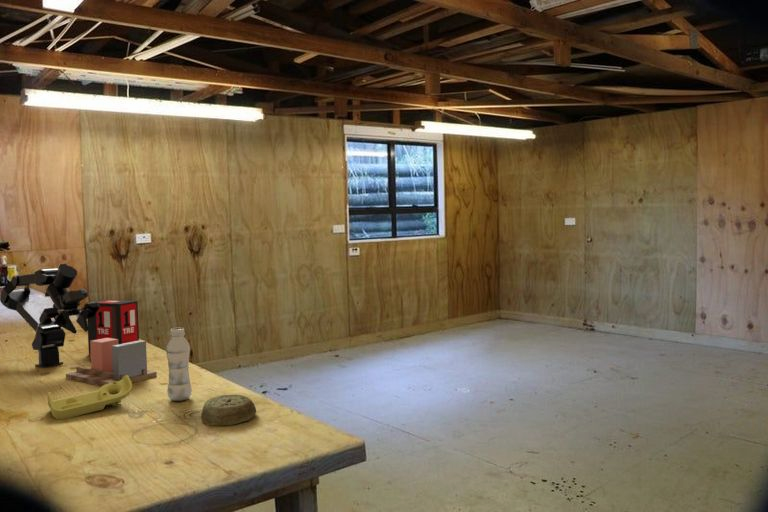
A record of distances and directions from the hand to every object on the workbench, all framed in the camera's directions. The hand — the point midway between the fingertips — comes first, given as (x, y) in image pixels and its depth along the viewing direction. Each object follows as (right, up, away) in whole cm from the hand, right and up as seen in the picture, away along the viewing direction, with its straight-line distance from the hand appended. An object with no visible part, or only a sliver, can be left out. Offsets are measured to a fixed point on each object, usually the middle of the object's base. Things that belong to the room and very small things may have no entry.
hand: (81, 331), depth 203 cm
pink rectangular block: (+11, -12, -6) cm, 17 cm away
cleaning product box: (-2, -12, +30) cm, 33 cm away
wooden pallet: (+13, -14, -8) cm, 21 cm away
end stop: (+22, -12, -13) cm, 28 cm away
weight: (+62, -16, -51) cm, 82 cm away
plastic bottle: (+45, -15, -34) cm, 58 cm away
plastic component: (+23, -16, -41) cm, 50 cm away
